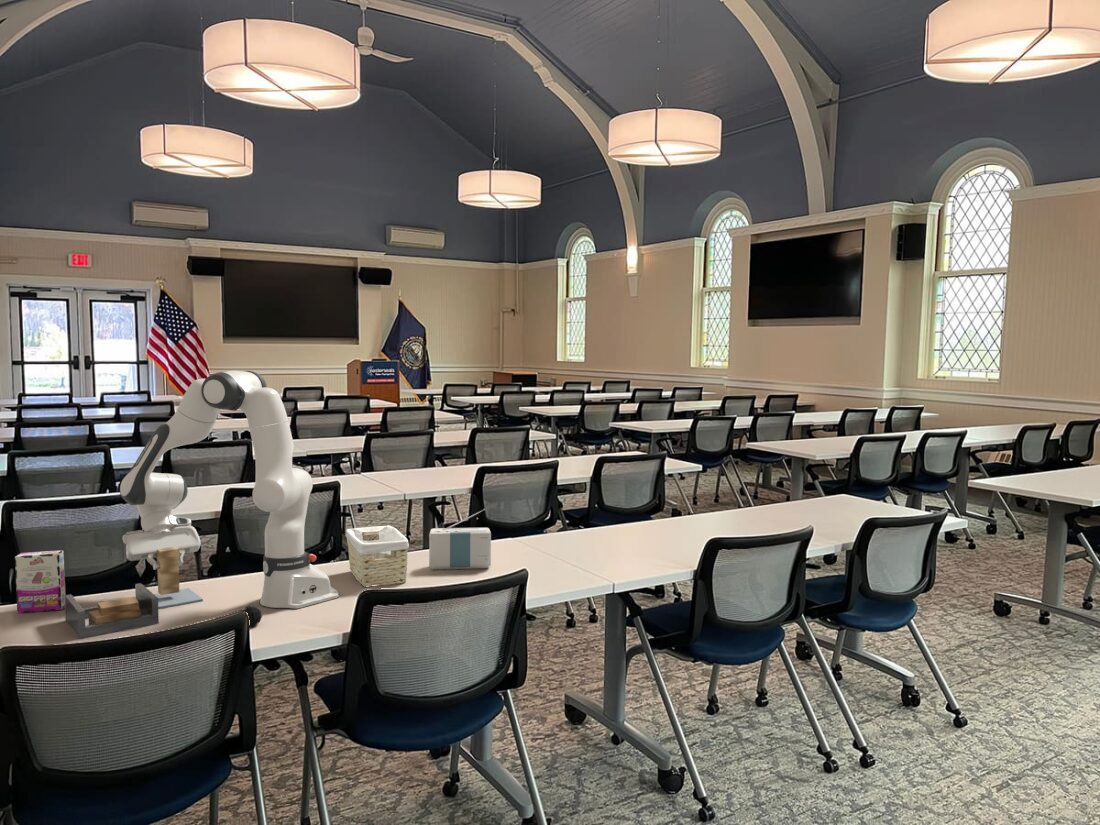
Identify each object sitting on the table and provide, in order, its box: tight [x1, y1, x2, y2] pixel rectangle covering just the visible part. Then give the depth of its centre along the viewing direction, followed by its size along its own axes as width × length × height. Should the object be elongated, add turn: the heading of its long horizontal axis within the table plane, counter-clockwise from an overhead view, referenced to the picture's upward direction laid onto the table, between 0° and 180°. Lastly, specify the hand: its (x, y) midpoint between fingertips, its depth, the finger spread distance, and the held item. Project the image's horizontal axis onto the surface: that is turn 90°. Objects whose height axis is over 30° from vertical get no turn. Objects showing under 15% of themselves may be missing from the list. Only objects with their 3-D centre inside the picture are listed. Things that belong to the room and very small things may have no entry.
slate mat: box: [153, 587, 204, 610], centre depth 240 cm, size 14×14×1 cm
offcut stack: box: [88, 596, 143, 626], centre depth 219 cm, size 12×7×6 cm, turn 131°
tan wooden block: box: [156, 547, 180, 595], centre depth 239 cm, size 5×4×13 cm
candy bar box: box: [14, 549, 66, 614], centre depth 230 cm, size 11×5×16 cm, turn 106°
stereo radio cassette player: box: [428, 508, 492, 570], centre depth 279 cm, size 21×8×20 cm, turn 97°
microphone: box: [243, 605, 263, 628], centre depth 214 cm, size 6×6×20 cm
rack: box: [64, 582, 160, 640], centre depth 220 cm, size 19×18×7 cm
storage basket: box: [345, 524, 410, 588], centre depth 266 cm, size 24×16×15 cm
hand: (168, 566), depth 239 cm, fingers closed on tan wooden block, 5 cm apart
